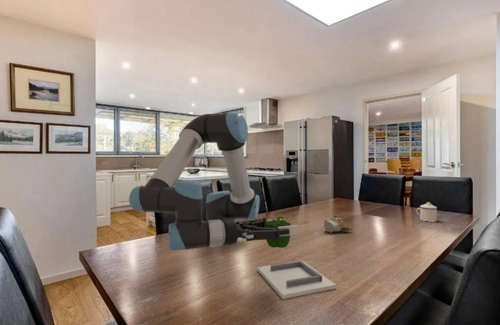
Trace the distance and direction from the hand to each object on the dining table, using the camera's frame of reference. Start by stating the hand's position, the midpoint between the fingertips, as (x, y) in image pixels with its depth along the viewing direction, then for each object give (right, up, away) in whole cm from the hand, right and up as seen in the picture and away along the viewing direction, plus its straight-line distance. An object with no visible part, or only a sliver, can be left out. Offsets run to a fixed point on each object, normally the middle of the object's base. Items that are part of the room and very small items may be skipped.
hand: (290, 226), depth 85 cm
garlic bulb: (+34, -17, +57) cm, 69 cm away
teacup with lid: (+99, -16, +82) cm, 130 cm away
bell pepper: (-4, -6, -1) cm, 8 cm away
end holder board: (+1, -18, +1) cm, 18 cm away
